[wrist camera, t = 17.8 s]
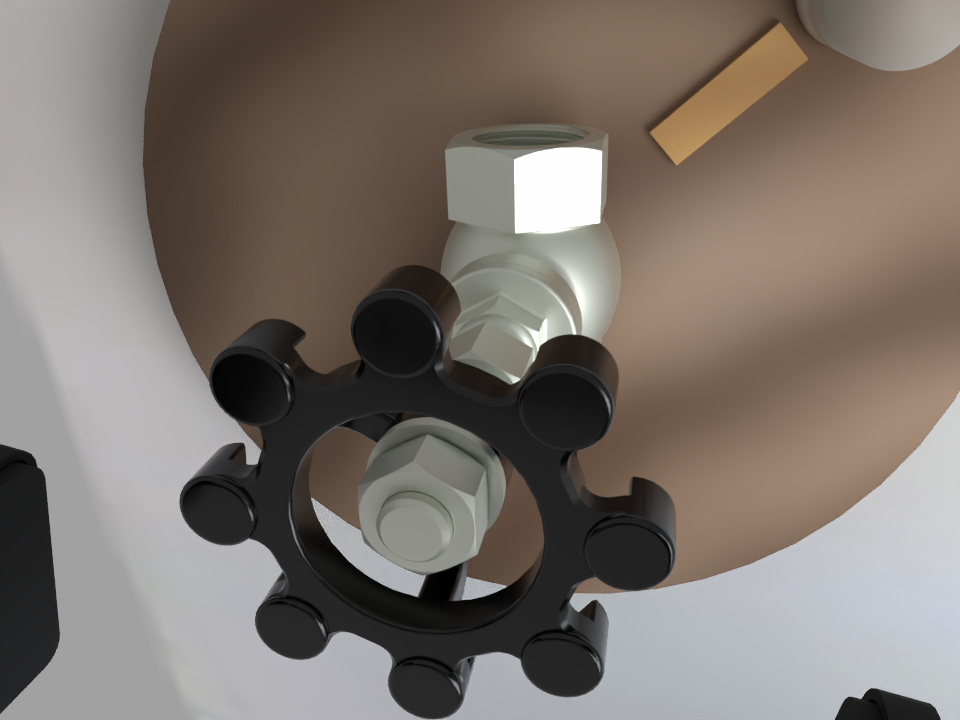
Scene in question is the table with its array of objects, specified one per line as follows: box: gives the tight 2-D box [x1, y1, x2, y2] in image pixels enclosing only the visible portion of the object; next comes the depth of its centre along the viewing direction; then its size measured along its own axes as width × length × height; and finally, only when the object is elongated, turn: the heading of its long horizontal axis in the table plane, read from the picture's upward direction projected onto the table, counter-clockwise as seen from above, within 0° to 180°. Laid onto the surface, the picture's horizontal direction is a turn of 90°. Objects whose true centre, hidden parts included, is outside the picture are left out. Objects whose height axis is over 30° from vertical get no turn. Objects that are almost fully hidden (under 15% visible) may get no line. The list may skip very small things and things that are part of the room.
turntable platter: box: [143, 0, 960, 593], centre depth 20 cm, size 22×22×6 cm
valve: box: [180, 123, 676, 719], centre depth 16 cm, size 7×7×12 cm
